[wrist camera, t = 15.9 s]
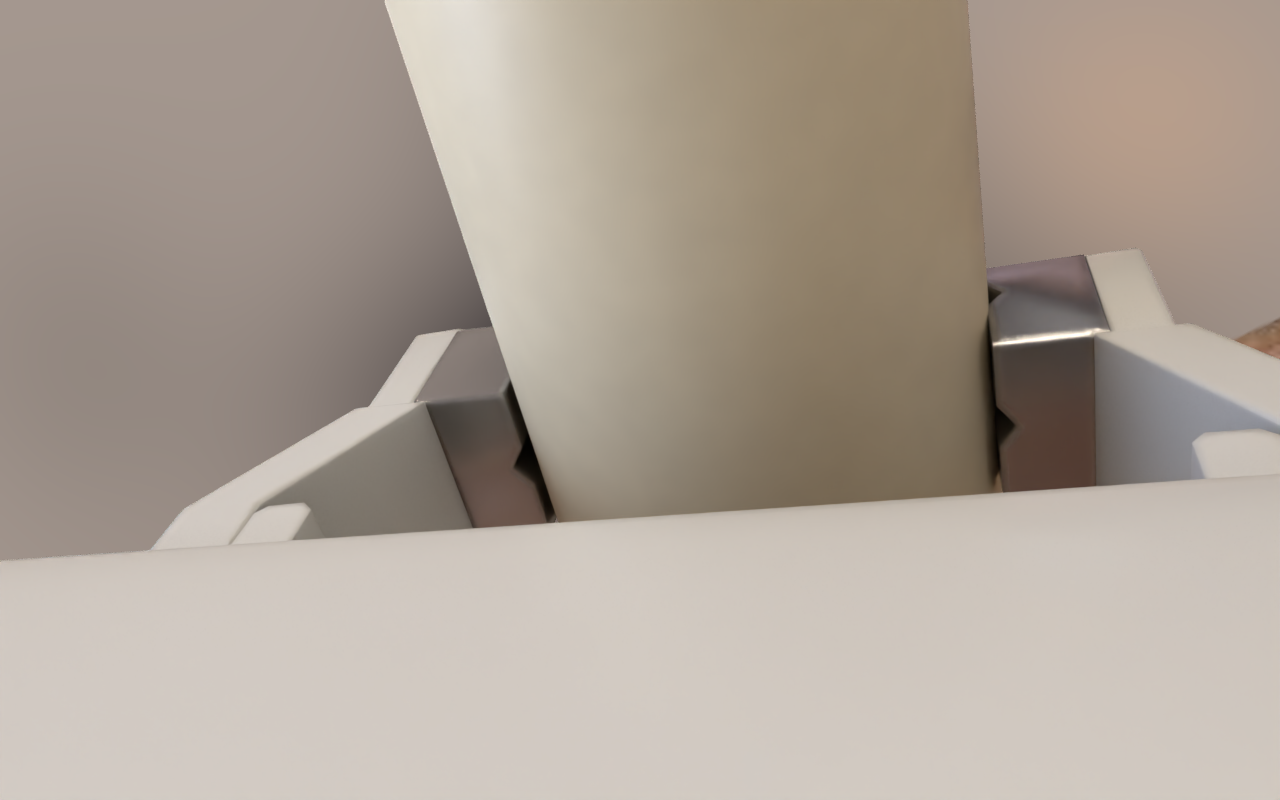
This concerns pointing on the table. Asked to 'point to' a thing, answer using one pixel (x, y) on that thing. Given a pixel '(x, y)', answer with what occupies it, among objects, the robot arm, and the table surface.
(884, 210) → the candle
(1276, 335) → the table surface
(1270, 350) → the table surface
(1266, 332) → the table surface
